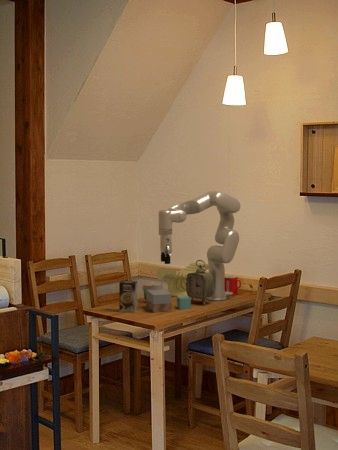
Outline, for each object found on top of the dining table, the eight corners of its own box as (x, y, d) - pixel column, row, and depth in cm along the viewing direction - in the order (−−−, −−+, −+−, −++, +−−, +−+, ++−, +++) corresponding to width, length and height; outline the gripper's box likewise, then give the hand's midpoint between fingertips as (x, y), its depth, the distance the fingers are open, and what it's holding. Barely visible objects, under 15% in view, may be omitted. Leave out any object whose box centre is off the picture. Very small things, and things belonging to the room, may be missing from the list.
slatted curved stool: (190, 289, 421) (190, 262, 420) (209, 292, 410) (209, 264, 409) (157, 296, 400) (157, 267, 398) (176, 299, 389) (176, 269, 387)
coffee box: (118, 312, 356) (118, 282, 355) (121, 309, 362) (121, 280, 361) (135, 312, 355) (135, 282, 353) (137, 310, 361) (137, 280, 360)
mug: (220, 294, 406) (220, 277, 405) (227, 292, 413) (227, 275, 412) (237, 296, 399) (237, 279, 398) (244, 294, 406) (244, 277, 405)
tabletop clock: (186, 302, 380) (186, 259, 378) (196, 300, 387) (196, 258, 385) (204, 306, 370) (205, 262, 368) (215, 304, 377) (215, 260, 375)
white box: (163, 297, 371) (163, 288, 371) (171, 303, 356) (171, 294, 356) (146, 298, 369) (146, 289, 368) (153, 304, 353) (153, 295, 353)
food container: (145, 304, 377) (145, 286, 376) (142, 302, 382) (142, 285, 381) (166, 302, 381) (165, 285, 380) (162, 300, 387) (162, 283, 386)
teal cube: (187, 306, 369) (187, 296, 369) (190, 309, 364) (190, 298, 363) (177, 307, 368) (177, 296, 367) (180, 309, 362) (180, 298, 361)
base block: (163, 306, 372) (163, 297, 372) (171, 312, 357) (171, 303, 356) (146, 307, 369) (146, 298, 369) (153, 313, 354) (153, 304, 354)
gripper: (175, 233, 361) (175, 264, 362) (168, 230, 377) (168, 260, 379) (162, 233, 359) (162, 265, 360) (155, 230, 376) (155, 260, 377)
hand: (165, 262), depth 370 cm, fingers open, 9 cm apart
